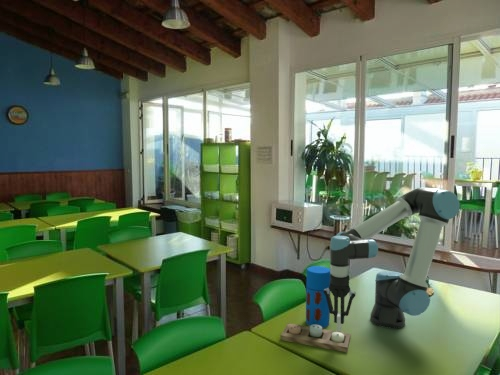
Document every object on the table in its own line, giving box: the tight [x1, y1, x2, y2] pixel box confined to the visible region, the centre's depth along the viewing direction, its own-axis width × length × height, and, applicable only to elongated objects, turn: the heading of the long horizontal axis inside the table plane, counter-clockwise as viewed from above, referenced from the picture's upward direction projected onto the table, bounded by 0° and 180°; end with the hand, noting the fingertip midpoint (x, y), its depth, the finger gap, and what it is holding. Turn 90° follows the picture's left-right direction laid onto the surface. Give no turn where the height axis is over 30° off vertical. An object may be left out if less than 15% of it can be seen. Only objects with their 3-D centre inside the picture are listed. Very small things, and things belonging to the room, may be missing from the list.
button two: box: [309, 324, 323, 338], centre depth 155 cm, size 5×5×3 cm
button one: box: [331, 332, 345, 343], centre depth 152 cm, size 5×5×3 cm
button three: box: [289, 324, 301, 335], centre depth 158 cm, size 5×5×3 cm
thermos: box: [305, 265, 331, 329], centre depth 170 cm, size 11×11×25 cm
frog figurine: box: [426, 275, 435, 296], centre depth 208 cm, size 10×18×15 cm, turn 121°
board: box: [280, 323, 351, 353], centre depth 155 cm, size 27×12×2 cm, turn 69°
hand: (339, 330), depth 152 cm, fingers closed
